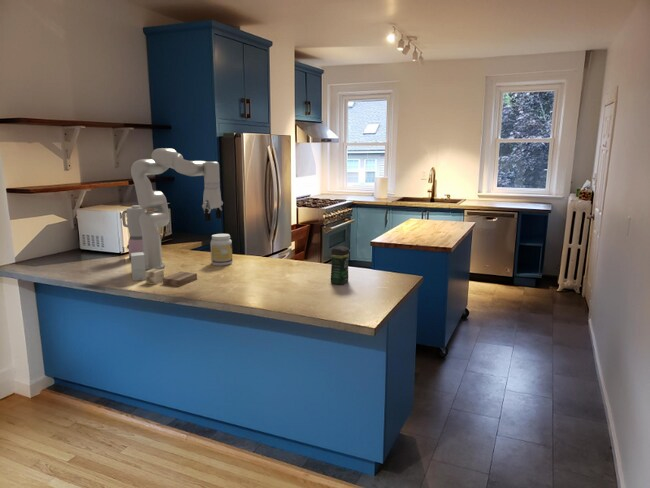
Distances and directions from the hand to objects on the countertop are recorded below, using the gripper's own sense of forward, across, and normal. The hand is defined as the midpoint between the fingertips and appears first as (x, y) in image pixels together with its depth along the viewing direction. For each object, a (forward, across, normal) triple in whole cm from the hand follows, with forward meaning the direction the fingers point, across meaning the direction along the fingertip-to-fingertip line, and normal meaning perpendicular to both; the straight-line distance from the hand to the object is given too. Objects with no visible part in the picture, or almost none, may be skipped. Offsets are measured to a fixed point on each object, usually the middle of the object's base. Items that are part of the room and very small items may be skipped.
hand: (213, 219), depth 245 cm
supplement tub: (+30, -25, -12) cm, 41 cm away
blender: (+31, -18, -67) cm, 76 cm away
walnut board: (+30, +15, -11) cm, 35 cm away
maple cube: (+30, +20, -22) cm, 43 cm away
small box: (+31, +18, -34) cm, 49 cm away
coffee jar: (+30, -13, +65) cm, 72 cm away
